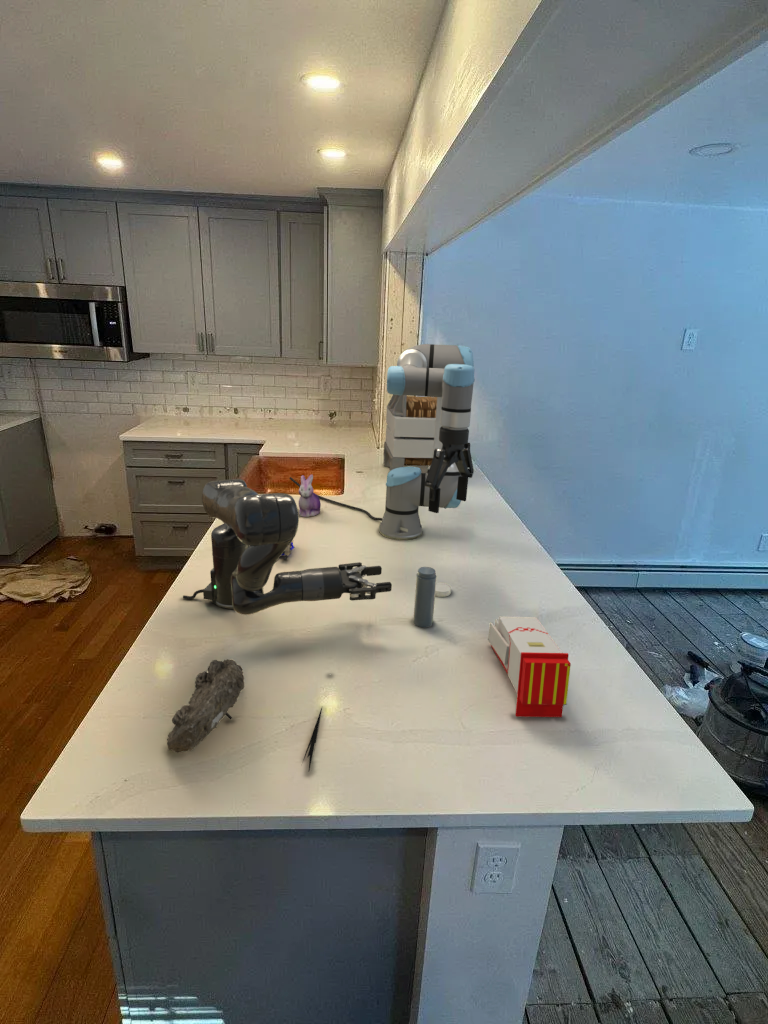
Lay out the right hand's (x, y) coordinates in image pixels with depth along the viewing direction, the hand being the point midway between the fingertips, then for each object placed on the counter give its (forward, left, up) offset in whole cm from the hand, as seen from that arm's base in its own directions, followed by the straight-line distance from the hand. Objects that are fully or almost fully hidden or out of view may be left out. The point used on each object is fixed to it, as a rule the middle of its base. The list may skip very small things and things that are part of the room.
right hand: (447, 505), depth 152 cm
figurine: (-74, +5, -26) cm, 78 cm away
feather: (+23, -57, -26) cm, 67 cm away
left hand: (+4, -25, -12) cm, 28 cm away
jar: (+9, -16, -26) cm, 32 cm away
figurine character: (-48, -22, -26) cm, 59 cm away
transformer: (-92, +80, -26) cm, 124 cm away
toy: (+38, -14, -26) cm, 48 cm away
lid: (0, 0, -24) cm, 24 cm away
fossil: (+10, -73, -26) cm, 78 cm away
